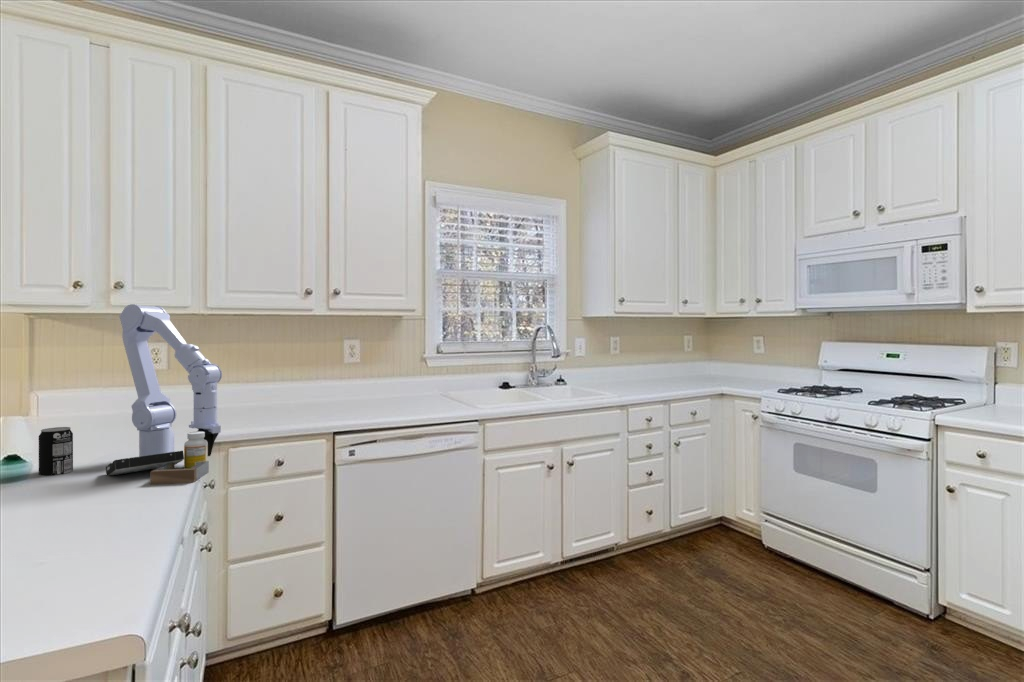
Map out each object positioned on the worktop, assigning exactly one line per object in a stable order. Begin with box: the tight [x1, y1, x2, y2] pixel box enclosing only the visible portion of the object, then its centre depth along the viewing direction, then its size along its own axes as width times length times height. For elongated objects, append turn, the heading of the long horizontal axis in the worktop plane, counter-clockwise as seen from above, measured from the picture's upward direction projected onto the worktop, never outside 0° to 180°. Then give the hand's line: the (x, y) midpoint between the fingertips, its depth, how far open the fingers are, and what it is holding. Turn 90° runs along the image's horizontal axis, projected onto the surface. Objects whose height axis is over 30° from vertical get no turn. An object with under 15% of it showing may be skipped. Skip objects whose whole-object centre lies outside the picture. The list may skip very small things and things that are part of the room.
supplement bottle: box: [183, 430, 209, 469], centre depth 141 cm, size 5×5×10 cm
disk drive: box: [105, 450, 184, 476], centre depth 136 cm, size 10×3×15 cm
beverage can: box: [38, 426, 74, 477], centre depth 134 cm, size 7×7×12 cm
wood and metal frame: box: [149, 460, 210, 485], centre depth 132 cm, size 10×10×3 cm
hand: (205, 456), depth 148 cm, fingers closed
